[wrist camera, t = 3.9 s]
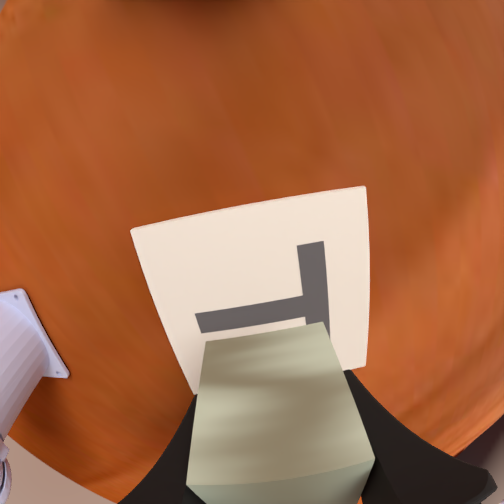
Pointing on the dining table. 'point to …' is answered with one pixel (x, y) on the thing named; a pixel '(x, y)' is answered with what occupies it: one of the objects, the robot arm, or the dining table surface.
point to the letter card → (262, 273)
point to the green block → (277, 423)
